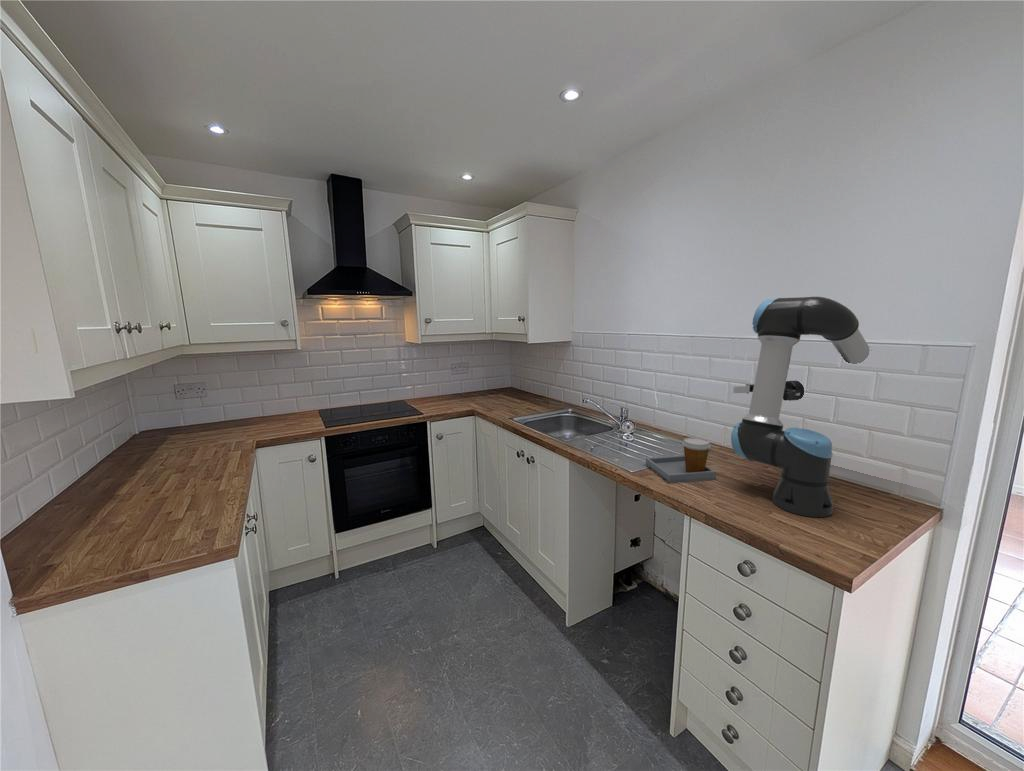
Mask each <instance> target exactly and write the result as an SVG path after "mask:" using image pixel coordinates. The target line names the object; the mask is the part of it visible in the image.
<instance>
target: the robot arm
mask: <svg viewBox="0 0 1024 771" xmlns="http://www.w3.org/2000/svg"><path fill="white" fill-rule="evenodd" d="M859 326H860V322H859V320H858V317H857V316H856V315H855V313H854V312H853V311H852V310H851V309H850V308H848V307H847V306H845V305H844V304H842V303H841V302H838V301H836V300H834V299H831V298H828V297H825V296H824V297H823V296H804V297H801V296H800V297H778V298H771V299H770V298H769V299H766V300H764V301H762V302H761V303H760V304H759V305H758V306H757V307H756V310H755V312H754V314H753V316H752V330H753V332H754V333H755V334H757V340H759V342H760V343H761V344H760V345H761V346H760V351H759V357H758V362H757V369H756V373H755V377H754V383H753V384H748V383H747V384H745V385H733V387H732V394H744V393H745V394H750V393H752V394H751V399H750V405H749V409H748V413H747V414H746V415H744V416H743V417H742V419H741V421H740V422H738V423H736V424H735V425H734V426H733V428H732V431H731V436H730V440H731V441H730V442H731V447H732V450H733V452H734V453H735V454H736V455H737V456H738V457H739V458H742V459H745V460H747V461H751V462H752V461H753V462H756V463H757V462H758V463H761V464H765V465H768V466H771V467H776V468H779V469H781V476H780V479H779V481H778V483H777V484H776V487H775V488H774V490H773V493H772V503H773V504H774V505H776V506H777V507H778V508H780V509H782V510H784V511H786V512H789V513H791V514H796V515H799V516H804V517H810V518H825V517H826V518H827V517H829V516H831V515H832V514H833V512H834V503H833V499H832V496H831V492H830V489H829V479H830V472H831V471H830V470H831V463H832V457H833V442H832V440H831V439H830V438H829V437H828V436H826V435H824V434H822V433H820V432H817V431H814V430H810V429H806V428H800V427H789V428H787V429H785V431H784V430H783V428H784V424H783V422H781V420H780V414H781V410H782V405H783V401H785V402H786V401H800V400H799V399H801V398H802V397H803V395H804V387H803V385H802V384H801V383H800V382H799V381H797V380H787V378H788V375H789V374H788V373H789V368H790V362H791V357H792V353H793V347H794V346H795V345H796V344H798V343H799V342H800V340H801V337H802V335H804V336H809V335H813V336H814V335H815V336H820V337H822V338H823V339H825V340H827V341H830V342H831V343H832V345H833V346H834V349H836V350H837V353H838V354H841V356H842V357H843V359H844V360H845V361H846V362H848V363H852V364H857V363H861V362H863V361H864V360H865V359H866V358H867V357H868V355H869V351H870V350H869V348H870V346H869V344H868V342H867V341H866V339H865V337H864V336H863V334H862V333H861V331H860V330H859Z"/></svg>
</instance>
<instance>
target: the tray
mask: <svg viewBox="0 0 1024 771" xmlns="http://www.w3.org/2000/svg"><path fill="white" fill-rule="evenodd" d="M646 465H647V466H649V467H650V468H649V469H650V470H651V469H652V470H653V471H652V470H651V471H652V472H653V473H655V474H656V473H657V474H658V475H657V474H656V475H657V476H658V477H660V476H661V477H662V478H661V477H660V478H661V479H662V480H664V479H665V480H666V481H667V483H668V482H669V483H668V484H677V482H681V483H687V482H688V483H689V482H690V483H692V482H693V483H694V482H701V481H702V482H704V481H715V480H717V471H716V470H714V469H713V468H710V467H709V466H707V465H706V466H705V471H704V472H692V473H688V472H686V466H685V454H684V455H672V456H671V455H670V456H659V457H658V456H657V457H646V458H645V466H646ZM647 466H646V467H647ZM665 480H664V481H665ZM666 481H665V482H666Z"/></svg>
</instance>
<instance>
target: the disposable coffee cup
mask: <svg viewBox="0 0 1024 771" xmlns="http://www.w3.org/2000/svg"><path fill="white" fill-rule="evenodd" d="M682 445H683V452H684V455H685V466H686V472H688V473H692V472H704V471H705V466H707V460H708V456H709V451H710V449H711V448H710V447H712V446H711V444H710V440H708V439H705V438H702V437H686V438H684V439H683V441H682Z"/></svg>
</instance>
